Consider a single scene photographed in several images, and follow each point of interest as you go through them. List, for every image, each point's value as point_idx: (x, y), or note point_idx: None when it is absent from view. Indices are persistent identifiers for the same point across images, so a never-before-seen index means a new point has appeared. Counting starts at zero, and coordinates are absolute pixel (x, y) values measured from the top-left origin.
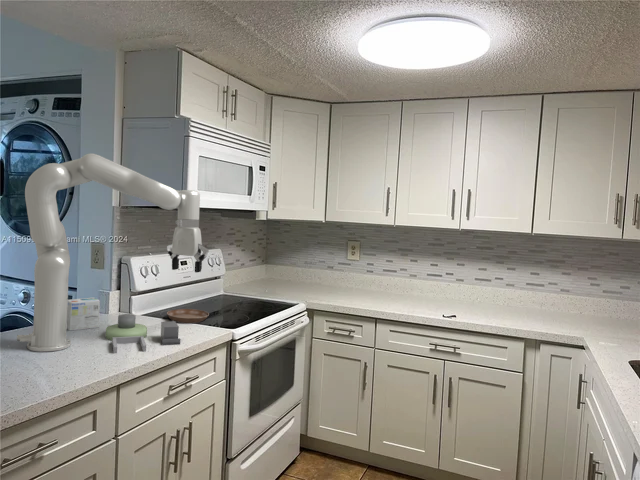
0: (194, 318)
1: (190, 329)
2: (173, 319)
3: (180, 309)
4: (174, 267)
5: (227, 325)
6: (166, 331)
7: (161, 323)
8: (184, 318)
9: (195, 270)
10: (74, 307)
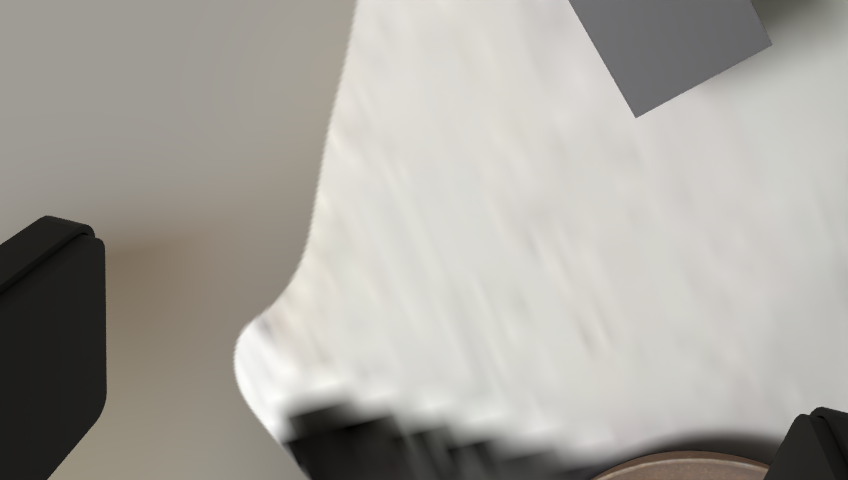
0: (602, 476)
1: (576, 310)
2: None
3: None
4: (808, 473)
5: (367, 466)
6: None
7: (761, 26)
8: (679, 456)
9: (45, 237)
10: None
